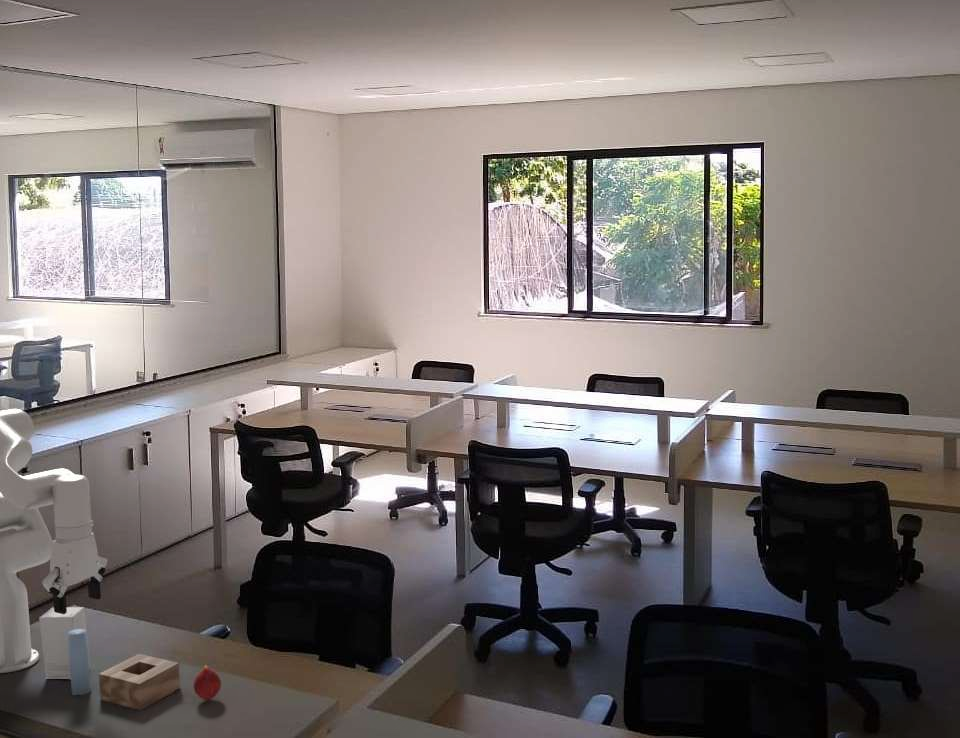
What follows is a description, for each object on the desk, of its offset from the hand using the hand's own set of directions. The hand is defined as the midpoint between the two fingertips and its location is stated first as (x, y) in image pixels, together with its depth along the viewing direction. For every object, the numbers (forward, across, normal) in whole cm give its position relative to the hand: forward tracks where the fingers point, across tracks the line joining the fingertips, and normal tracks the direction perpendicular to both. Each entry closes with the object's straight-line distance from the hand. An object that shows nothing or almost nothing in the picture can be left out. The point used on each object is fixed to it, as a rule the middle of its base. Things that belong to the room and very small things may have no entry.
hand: (77, 605), depth 232 cm
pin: (+20, 0, 0) cm, 20 cm away
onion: (+20, -8, +29) cm, 36 cm away
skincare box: (+21, -5, -10) cm, 24 cm away
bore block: (+20, -5, +13) cm, 24 cm away
